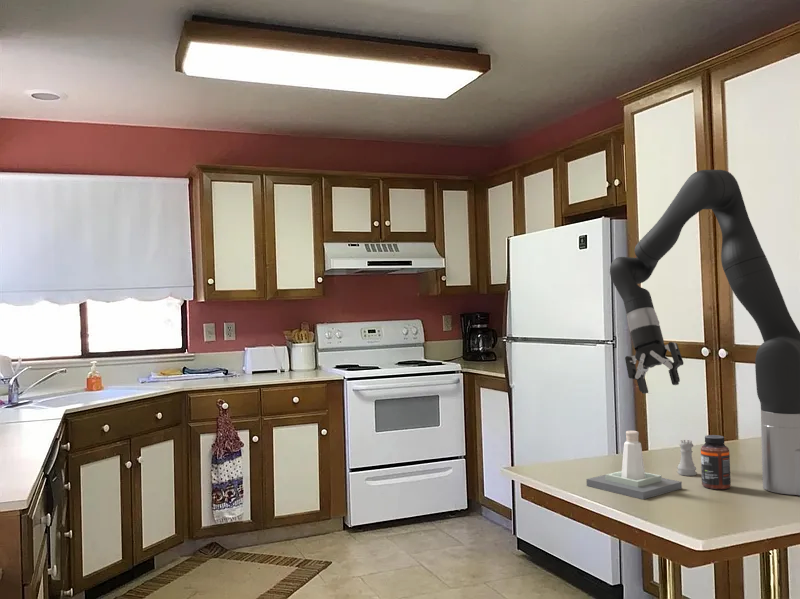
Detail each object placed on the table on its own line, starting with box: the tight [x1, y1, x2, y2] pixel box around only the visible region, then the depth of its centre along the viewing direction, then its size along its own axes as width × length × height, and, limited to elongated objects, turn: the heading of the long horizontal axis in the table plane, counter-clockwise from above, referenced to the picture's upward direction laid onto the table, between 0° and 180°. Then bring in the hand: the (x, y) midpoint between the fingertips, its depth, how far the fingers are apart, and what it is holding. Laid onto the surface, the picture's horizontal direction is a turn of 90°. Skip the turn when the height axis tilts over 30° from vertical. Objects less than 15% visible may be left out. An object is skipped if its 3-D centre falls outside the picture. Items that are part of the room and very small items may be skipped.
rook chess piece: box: [676, 439, 698, 477], centre depth 171 cm, size 4×4×8 cm
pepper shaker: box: [621, 430, 646, 480], centre depth 160 cm, size 5×5×11 cm
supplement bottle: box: [700, 434, 732, 491], centre depth 159 cm, size 6×6×11 cm
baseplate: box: [586, 470, 683, 500], centre depth 160 cm, size 15×14×3 cm
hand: (660, 389), depth 179 cm, fingers open, 8 cm apart
